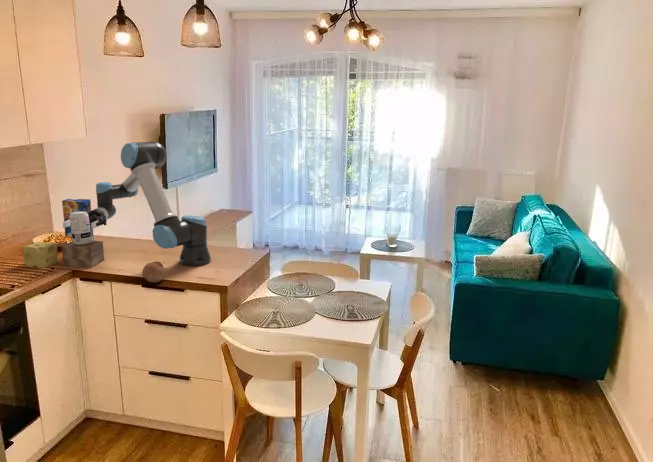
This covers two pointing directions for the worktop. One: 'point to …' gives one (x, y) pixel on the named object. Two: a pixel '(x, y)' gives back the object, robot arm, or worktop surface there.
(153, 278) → the onion
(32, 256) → the cheese
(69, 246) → the walnut block
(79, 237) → the supplement can
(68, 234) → the juice carton
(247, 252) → the worktop surface
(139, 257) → the worktop surface
